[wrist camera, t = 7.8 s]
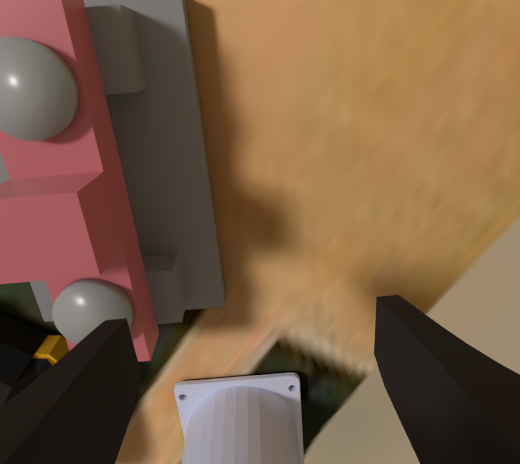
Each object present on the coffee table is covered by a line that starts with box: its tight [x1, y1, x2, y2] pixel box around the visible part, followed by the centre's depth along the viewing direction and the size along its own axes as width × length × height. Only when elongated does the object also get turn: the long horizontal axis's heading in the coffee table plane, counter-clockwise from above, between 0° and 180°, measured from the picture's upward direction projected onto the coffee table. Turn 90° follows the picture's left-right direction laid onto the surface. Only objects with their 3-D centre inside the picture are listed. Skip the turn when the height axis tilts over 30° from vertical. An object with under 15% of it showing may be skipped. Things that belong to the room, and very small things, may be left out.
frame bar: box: [0, 0, 159, 362], centre depth 15 cm, size 15×4×4 cm, turn 5°
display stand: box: [0, 0, 226, 324], centre depth 18 cm, size 15×10×3 cm, turn 5°
